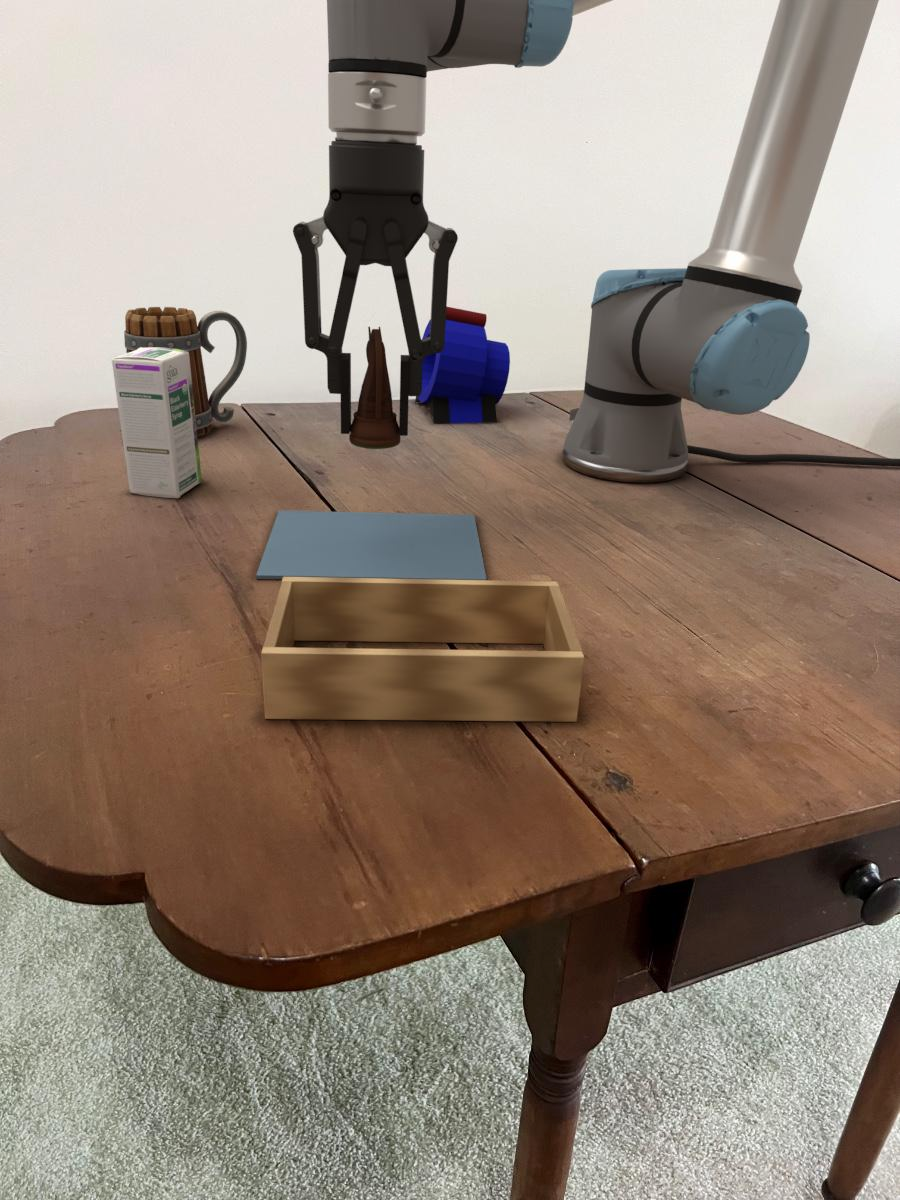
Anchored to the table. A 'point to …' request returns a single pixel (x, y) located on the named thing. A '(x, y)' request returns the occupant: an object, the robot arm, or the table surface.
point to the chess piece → (375, 402)
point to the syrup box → (157, 421)
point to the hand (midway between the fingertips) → (374, 430)
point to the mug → (185, 335)
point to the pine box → (421, 651)
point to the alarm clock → (465, 371)
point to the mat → (373, 546)
